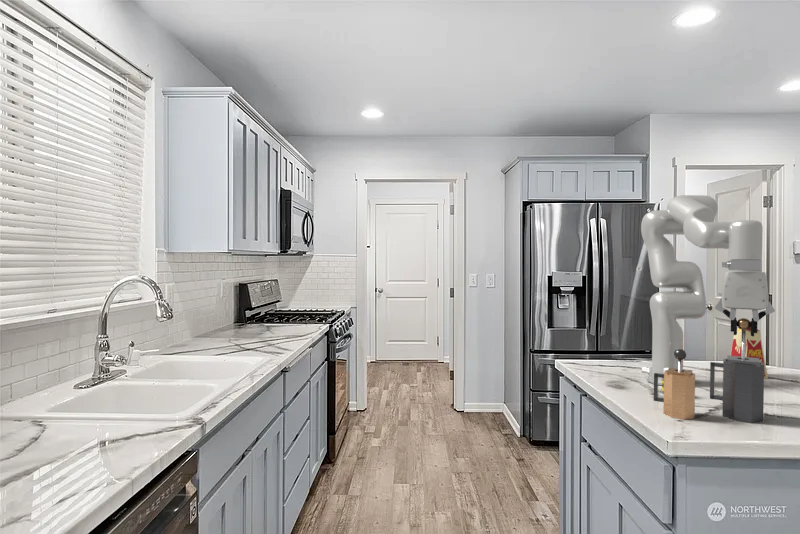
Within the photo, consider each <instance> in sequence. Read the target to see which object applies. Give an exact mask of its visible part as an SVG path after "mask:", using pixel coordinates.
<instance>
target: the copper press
mask: <svg viewBox="0 0 800 534" xmlns="http://www.w3.org/2000/svg"><path fill="white" fill-rule="evenodd" d="M658 377H661V378H664V396H663V397H659V396H658V395H659V385H658ZM695 400H696V373H694V372H693V370H692V369H684V368H683V369H681V372H680V371H678V369H676V368H669V369H668V370H665V372H664V374H660V373H654V384H653V402H659V403H660V402H662V403H663V415H664V414H665V416H667V415H668V416H667V417H669V416H670V417H669V418H672V417H673V419H678V418H679V419H680V420H694V419H695V410H696V401H695Z"/></svg>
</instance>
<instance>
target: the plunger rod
mask: <svg viewBox="0 0 800 534" xmlns="http://www.w3.org/2000/svg"><path fill="white" fill-rule="evenodd" d="M750 327H751V320H749V319H748V318H744V317H743V318H739V319H738V320H737V329H738V328H739V329H741V330H742V345H741V359H744V360H745V348H746V330H748V329H749V328H750Z"/></svg>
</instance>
